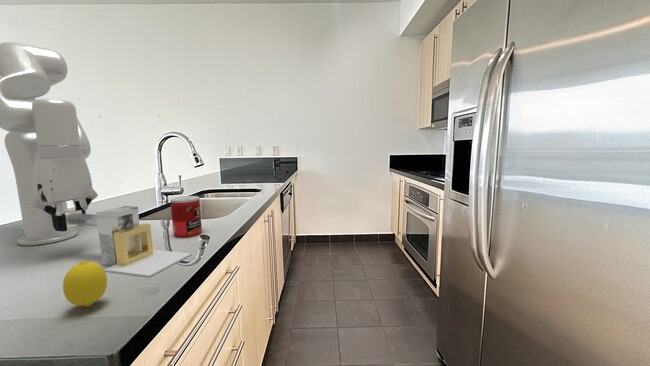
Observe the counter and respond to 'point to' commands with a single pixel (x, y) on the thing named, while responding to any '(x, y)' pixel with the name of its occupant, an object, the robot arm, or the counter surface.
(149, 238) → the frame
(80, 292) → the lemon
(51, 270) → the counter surface
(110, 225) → the bearing block
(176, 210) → the canned food
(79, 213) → the shaft
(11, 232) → the counter surface
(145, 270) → the mat
